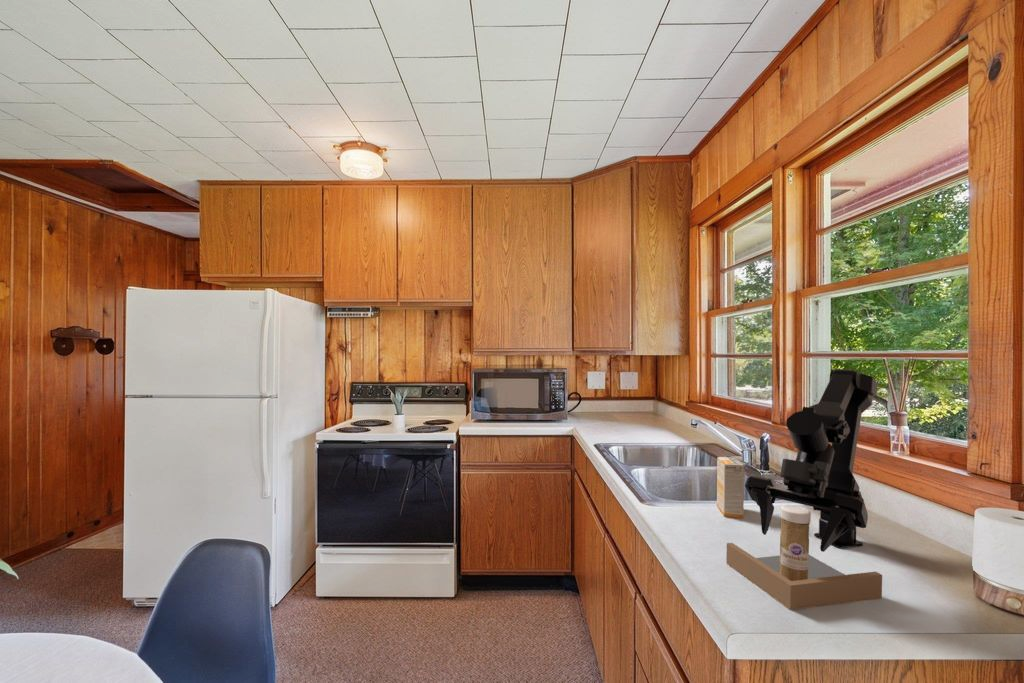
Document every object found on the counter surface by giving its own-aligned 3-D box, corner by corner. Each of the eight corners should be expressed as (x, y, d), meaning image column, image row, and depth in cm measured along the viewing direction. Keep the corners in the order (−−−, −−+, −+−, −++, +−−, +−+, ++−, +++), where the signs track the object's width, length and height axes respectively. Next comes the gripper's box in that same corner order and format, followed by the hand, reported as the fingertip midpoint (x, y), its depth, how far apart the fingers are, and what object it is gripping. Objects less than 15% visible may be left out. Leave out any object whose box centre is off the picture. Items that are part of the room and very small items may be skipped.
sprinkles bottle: (785, 589, 83) (787, 512, 83) (774, 576, 88) (776, 502, 87) (813, 591, 82) (815, 513, 82) (801, 578, 87) (803, 504, 87)
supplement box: (744, 518, 117) (745, 465, 117) (723, 517, 118) (724, 464, 118) (735, 506, 125) (736, 457, 125) (716, 505, 126) (716, 455, 126)
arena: (805, 555, 98) (805, 535, 98) (881, 598, 82) (882, 574, 82) (726, 563, 94) (726, 543, 94) (790, 609, 78) (790, 585, 78)
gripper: (749, 434, 94) (724, 503, 87) (865, 451, 80) (847, 535, 73) (763, 466, 100) (741, 534, 92) (874, 488, 86) (858, 569, 79)
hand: (791, 541), depth 84 cm, fingers open, 9 cm apart
